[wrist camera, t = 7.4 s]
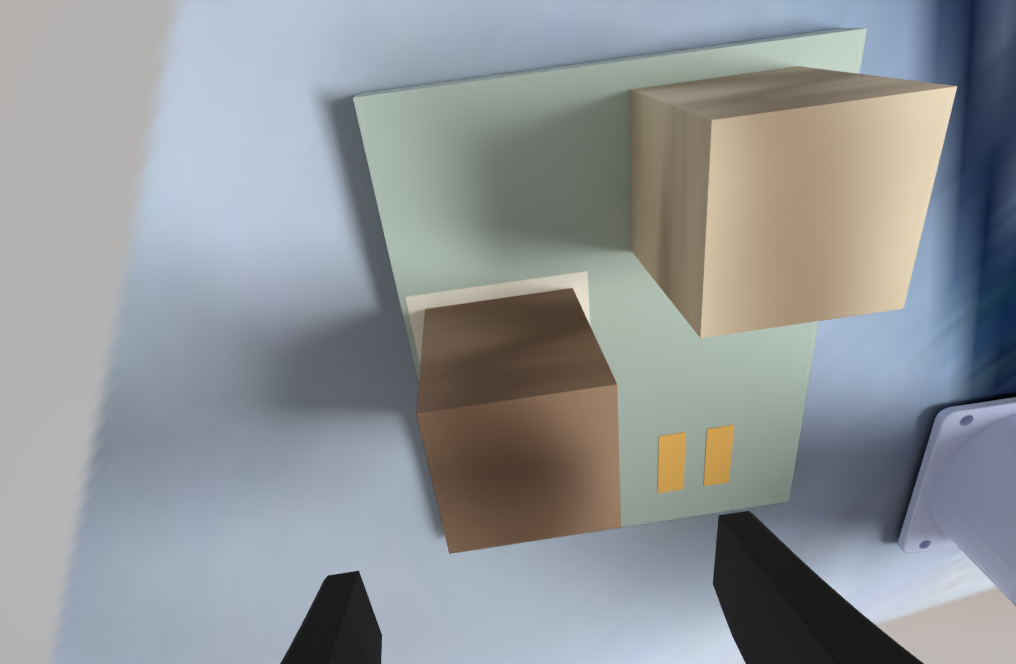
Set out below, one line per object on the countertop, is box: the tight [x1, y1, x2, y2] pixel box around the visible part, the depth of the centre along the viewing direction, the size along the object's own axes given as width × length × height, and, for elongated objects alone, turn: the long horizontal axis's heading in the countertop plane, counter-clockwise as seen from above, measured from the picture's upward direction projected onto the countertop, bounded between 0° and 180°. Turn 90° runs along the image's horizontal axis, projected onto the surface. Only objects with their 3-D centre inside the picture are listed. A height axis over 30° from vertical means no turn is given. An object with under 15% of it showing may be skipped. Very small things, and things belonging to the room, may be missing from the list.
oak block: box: [630, 66, 957, 338], centre depth 14 cm, size 5×5×5 cm
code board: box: [353, 28, 867, 553], centre depth 19 cm, size 14×17×1 cm
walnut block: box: [416, 288, 621, 554], centre depth 17 cm, size 5×5×5 cm
